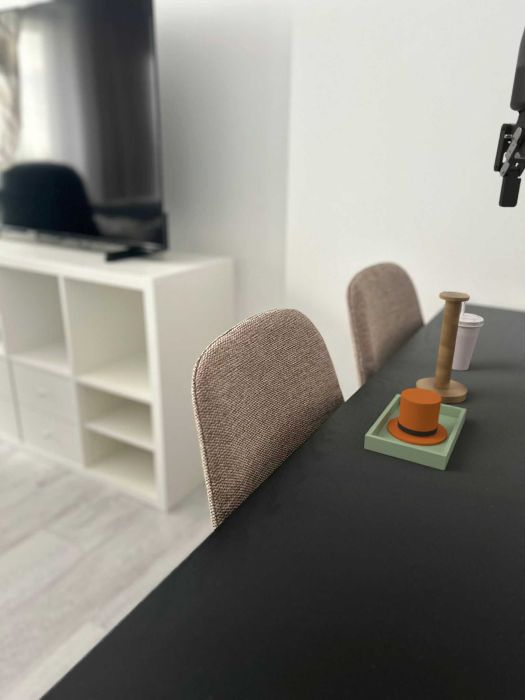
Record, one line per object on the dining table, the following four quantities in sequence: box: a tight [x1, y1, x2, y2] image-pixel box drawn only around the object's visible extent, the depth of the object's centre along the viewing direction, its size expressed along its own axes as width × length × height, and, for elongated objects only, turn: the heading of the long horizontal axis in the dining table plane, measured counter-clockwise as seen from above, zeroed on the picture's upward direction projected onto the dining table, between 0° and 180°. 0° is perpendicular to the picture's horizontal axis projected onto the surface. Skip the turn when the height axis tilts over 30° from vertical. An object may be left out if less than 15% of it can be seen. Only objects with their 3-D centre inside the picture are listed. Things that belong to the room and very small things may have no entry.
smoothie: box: [452, 292, 485, 372], centre depth 93 cm, size 6×6×14 cm
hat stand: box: [415, 291, 471, 405], centre depth 82 cm, size 8×8×17 cm
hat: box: [387, 387, 447, 446], centre depth 70 cm, size 8×8×5 cm
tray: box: [363, 393, 468, 471], centre depth 71 cm, size 15×10×2 cm
